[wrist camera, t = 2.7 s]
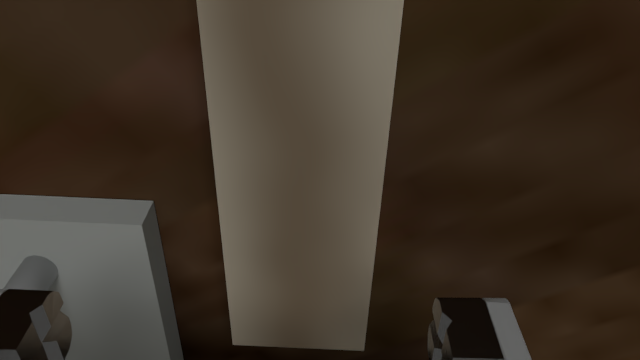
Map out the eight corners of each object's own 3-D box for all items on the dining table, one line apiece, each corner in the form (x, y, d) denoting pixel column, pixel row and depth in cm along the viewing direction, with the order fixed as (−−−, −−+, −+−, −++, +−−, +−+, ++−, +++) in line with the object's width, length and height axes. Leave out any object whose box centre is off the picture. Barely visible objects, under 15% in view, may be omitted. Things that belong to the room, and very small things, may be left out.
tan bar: (402, -150, 14) (419, -138, 11) (361, 275, 24) (364, 351, 20) (217, -157, 15) (181, -145, 11) (248, 270, 24) (232, 344, 20)
